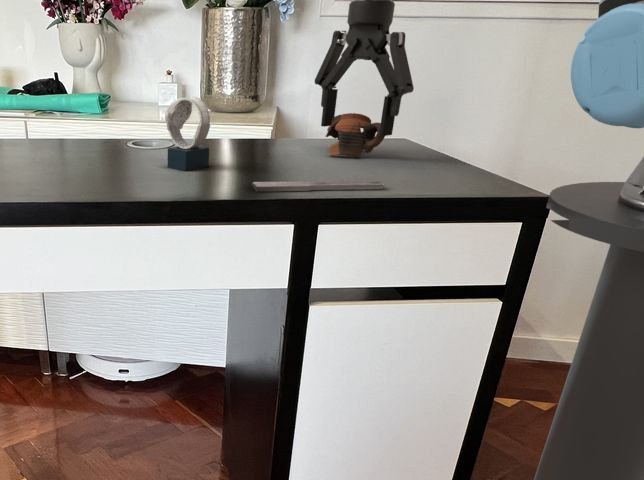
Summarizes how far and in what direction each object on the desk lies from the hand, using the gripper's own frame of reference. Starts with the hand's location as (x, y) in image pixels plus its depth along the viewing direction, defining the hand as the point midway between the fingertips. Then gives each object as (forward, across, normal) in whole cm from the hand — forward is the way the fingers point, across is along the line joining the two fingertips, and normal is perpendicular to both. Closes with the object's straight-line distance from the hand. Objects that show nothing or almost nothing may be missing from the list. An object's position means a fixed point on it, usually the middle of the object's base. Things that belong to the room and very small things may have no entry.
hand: (355, 130), depth 117 cm
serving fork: (+4, +17, -27) cm, 32 cm away
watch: (+4, -8, -33) cm, 34 cm away
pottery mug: (+4, 0, 0) cm, 5 cm away
